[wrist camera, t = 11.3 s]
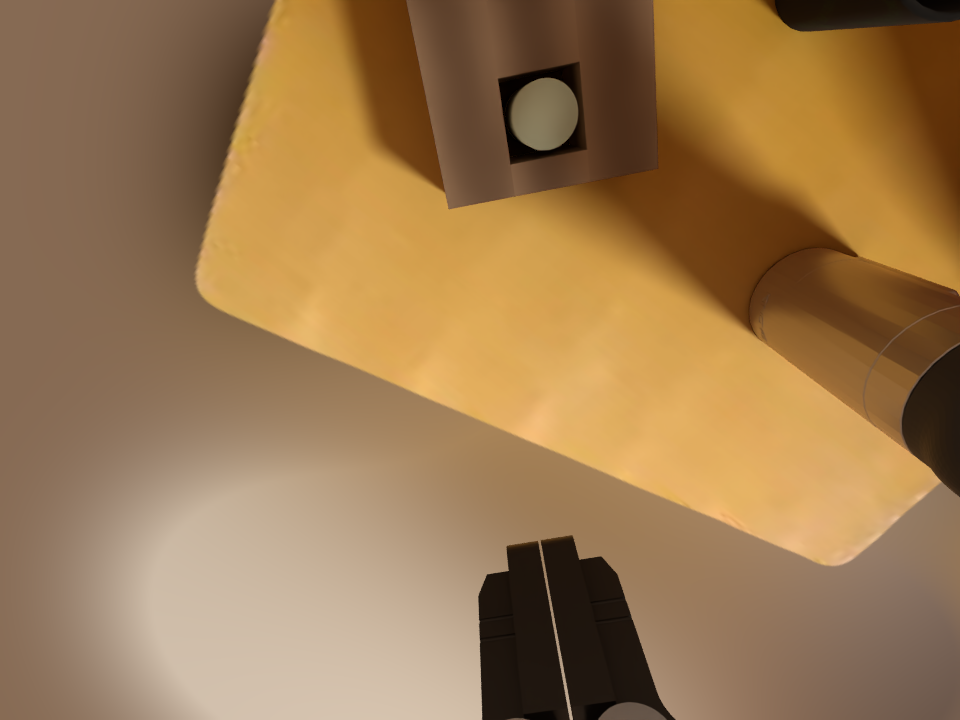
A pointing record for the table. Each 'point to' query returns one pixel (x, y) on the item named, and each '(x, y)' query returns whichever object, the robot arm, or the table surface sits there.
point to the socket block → (526, 52)
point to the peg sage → (542, 114)
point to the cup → (864, 13)
